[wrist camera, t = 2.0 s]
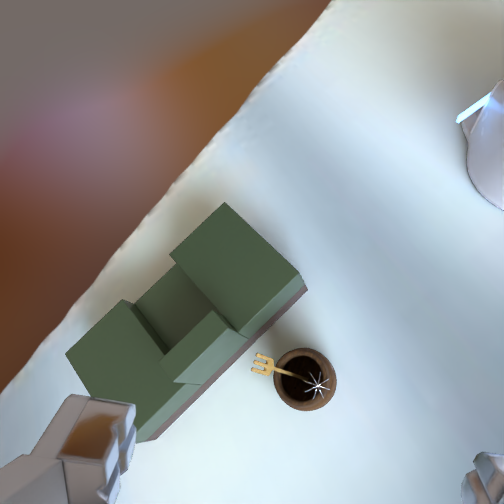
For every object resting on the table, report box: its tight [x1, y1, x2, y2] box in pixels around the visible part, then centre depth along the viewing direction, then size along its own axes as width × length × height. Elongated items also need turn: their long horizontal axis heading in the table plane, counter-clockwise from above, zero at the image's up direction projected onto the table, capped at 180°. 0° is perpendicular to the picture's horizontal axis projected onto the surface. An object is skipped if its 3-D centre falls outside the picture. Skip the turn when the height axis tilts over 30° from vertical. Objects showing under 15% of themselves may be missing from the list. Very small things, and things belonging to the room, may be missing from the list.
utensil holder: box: [251, 348, 337, 411], centre depth 37 cm, size 6×6×12 cm
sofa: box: [65, 202, 308, 444], centre depth 43 cm, size 24×12×10 cm, turn 132°
